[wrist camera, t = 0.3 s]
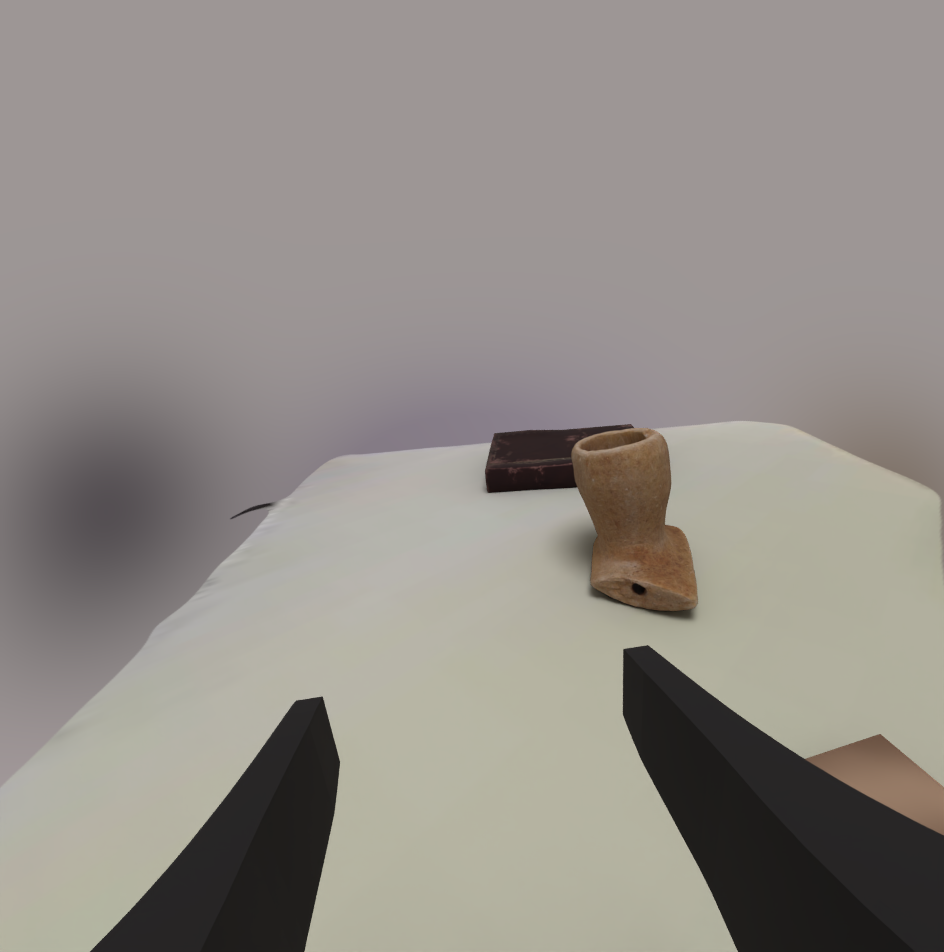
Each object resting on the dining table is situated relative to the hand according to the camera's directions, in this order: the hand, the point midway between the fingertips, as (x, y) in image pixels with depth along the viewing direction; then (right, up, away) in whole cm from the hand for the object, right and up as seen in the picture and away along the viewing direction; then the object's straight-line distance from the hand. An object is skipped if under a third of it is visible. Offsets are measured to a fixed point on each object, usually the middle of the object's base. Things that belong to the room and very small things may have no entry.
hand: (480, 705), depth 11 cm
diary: (+16, +6, +67) cm, 69 cm away
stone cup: (+17, -5, +38) cm, 42 cm away
